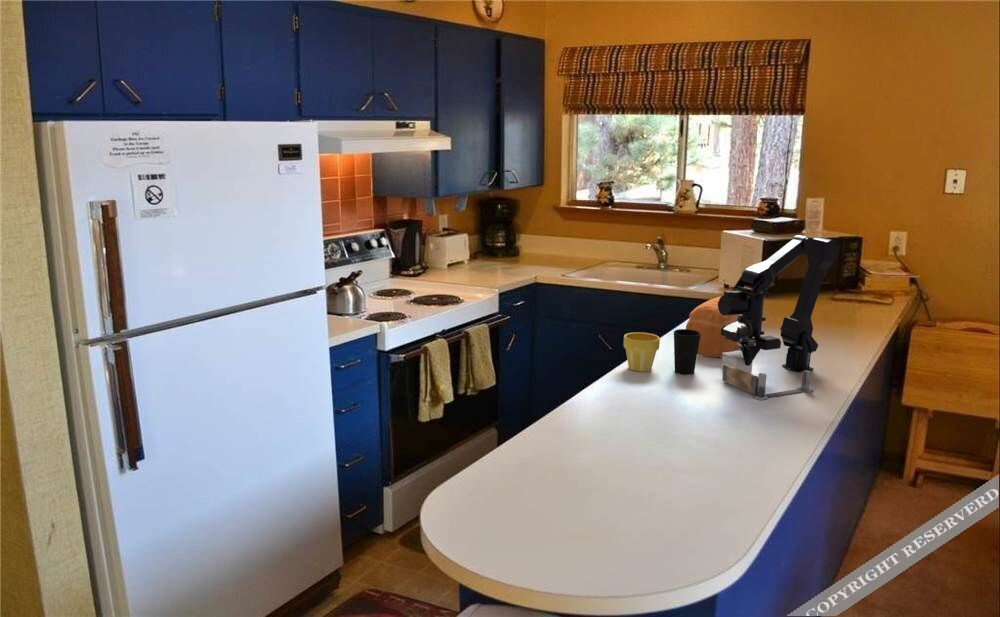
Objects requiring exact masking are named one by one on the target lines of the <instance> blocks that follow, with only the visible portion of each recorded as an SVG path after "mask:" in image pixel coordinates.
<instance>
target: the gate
mask: <svg viewBox="0 0 1000 617" xmlns="http://www.w3.org/2000/svg"><path fill="white" fill-rule="evenodd" d="M758 377H759V375H753V374H752V373H747V372H744V371H742V370H739V369H737V368H735V367H732V366H731V365H729V364H725V365H723V370H722V378H721V380H722V381H723V382H724V383H725V382H726V383H727V384H730V385H732V386H735V387H737V388H740V389H741V390H744V391H746V392H748V393H751V394H752V395H753V396H754V395H756V394H757V387H758Z"/></svg>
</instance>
